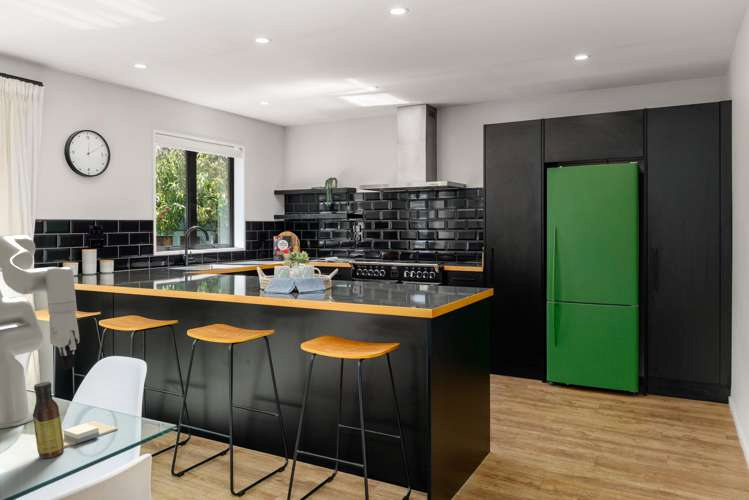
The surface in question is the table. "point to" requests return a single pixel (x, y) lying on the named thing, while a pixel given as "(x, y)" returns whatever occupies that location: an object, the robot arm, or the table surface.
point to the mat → (102, 430)
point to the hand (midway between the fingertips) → (68, 367)
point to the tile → (81, 433)
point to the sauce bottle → (47, 422)
